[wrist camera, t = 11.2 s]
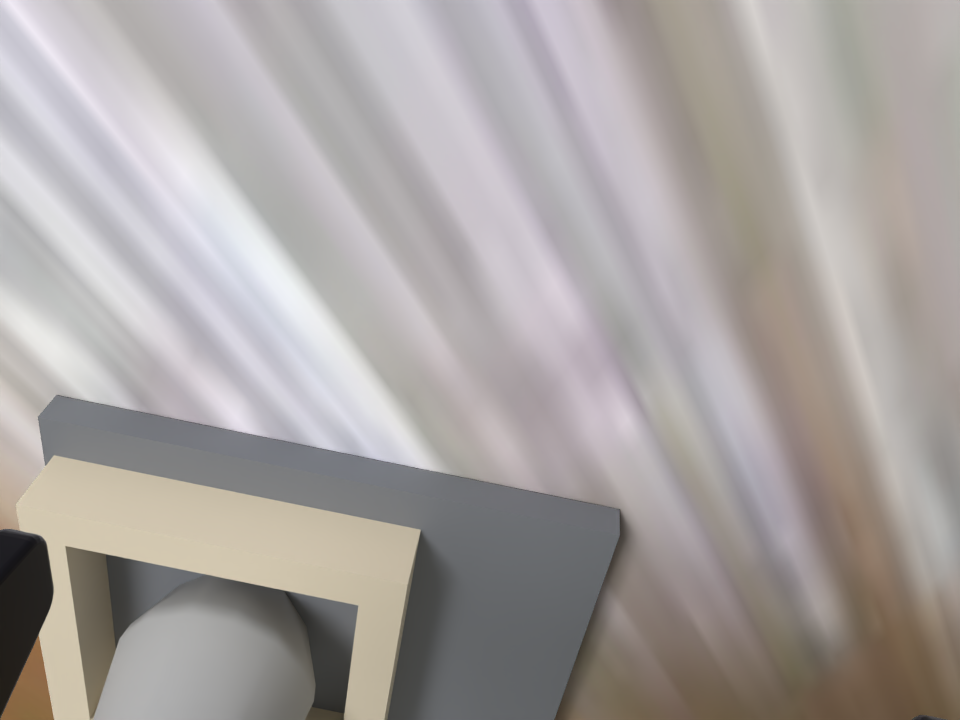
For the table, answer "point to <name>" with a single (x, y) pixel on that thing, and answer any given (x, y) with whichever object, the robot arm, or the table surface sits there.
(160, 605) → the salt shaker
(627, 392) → the table surface
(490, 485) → the build board
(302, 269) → the table surface
